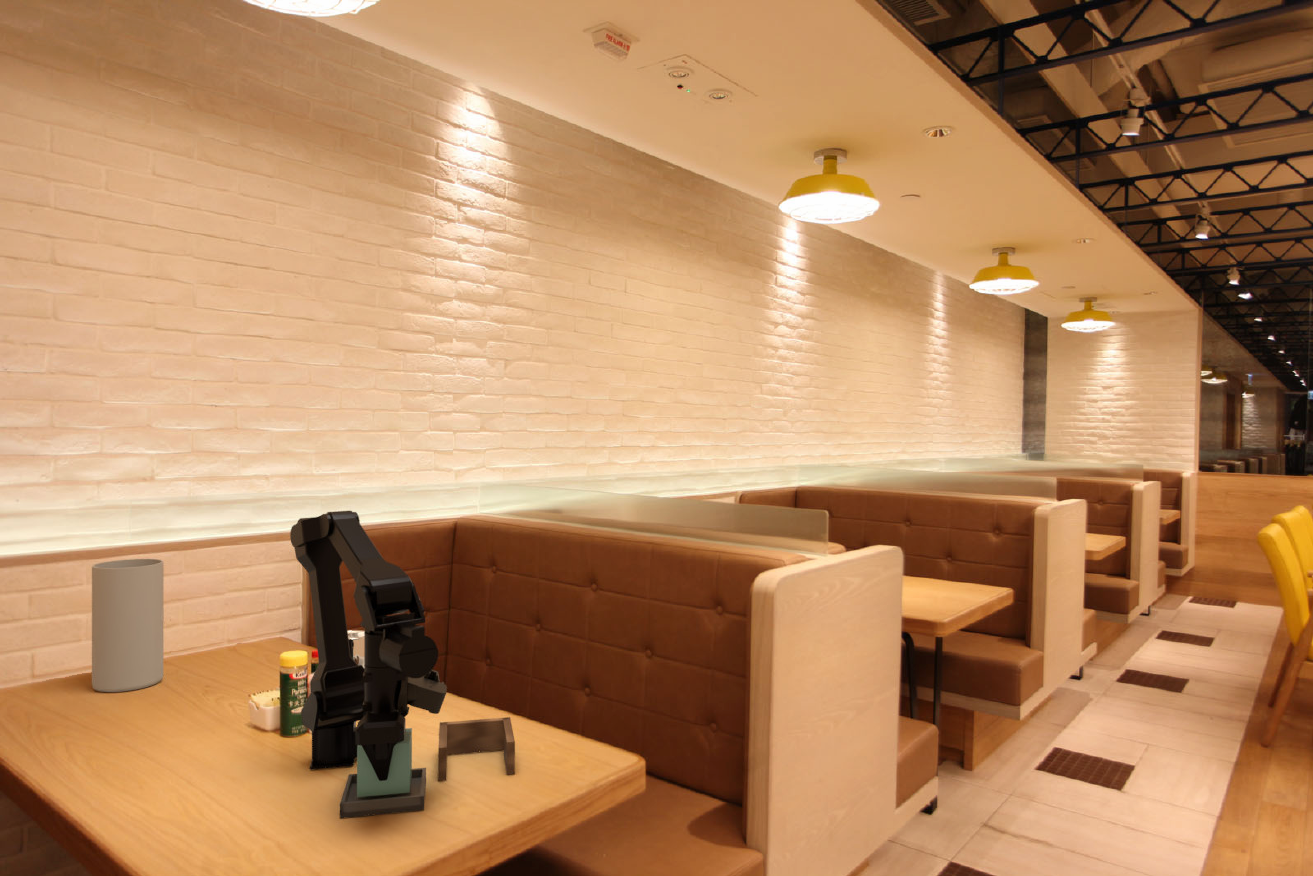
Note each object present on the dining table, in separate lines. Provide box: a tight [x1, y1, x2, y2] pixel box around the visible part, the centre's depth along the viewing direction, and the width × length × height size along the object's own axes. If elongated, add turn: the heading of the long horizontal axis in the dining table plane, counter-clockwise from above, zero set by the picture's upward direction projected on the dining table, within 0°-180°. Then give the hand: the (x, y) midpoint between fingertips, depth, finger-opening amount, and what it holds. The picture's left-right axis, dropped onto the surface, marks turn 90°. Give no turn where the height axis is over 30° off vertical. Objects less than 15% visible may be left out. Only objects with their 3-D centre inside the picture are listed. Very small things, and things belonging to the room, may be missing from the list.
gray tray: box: [339, 767, 427, 820], centre depth 119 cm, size 11×10×2 cm
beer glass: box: [347, 629, 365, 668], centre depth 154 cm, size 7×7×15 cm
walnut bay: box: [437, 716, 516, 782], centre depth 132 cm, size 11×11×5 cm
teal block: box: [356, 727, 413, 797], centre depth 119 cm, size 7×6×7 cm
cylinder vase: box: [91, 558, 164, 693], centre depth 172 cm, size 12×12×25 cm
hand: (385, 771), depth 119 cm, fingers open, 6 cm apart
